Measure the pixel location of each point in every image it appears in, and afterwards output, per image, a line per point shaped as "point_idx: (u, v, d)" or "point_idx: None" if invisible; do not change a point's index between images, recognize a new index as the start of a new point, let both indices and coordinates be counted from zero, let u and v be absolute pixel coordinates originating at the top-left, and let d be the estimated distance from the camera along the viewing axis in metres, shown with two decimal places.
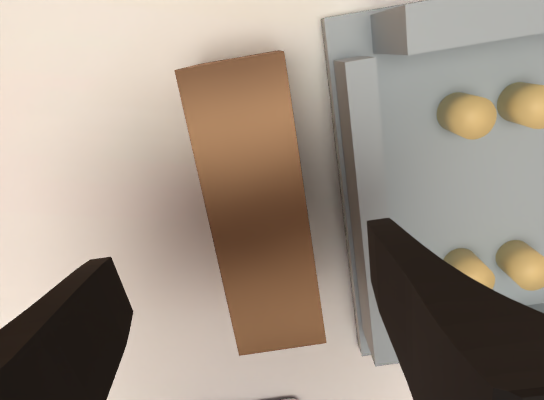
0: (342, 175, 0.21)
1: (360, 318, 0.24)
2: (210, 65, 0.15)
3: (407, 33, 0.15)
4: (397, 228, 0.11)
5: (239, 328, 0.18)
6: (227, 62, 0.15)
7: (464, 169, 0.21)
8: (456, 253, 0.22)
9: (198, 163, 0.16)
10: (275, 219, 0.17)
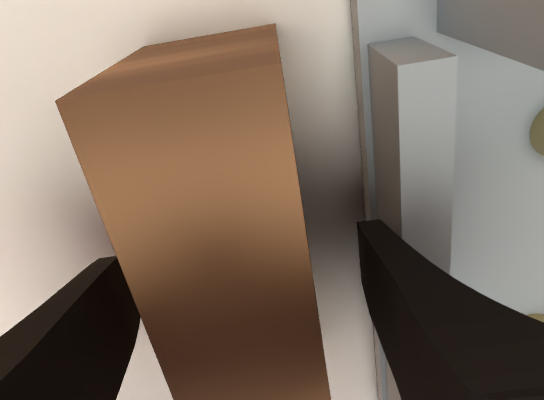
0: None
1: (385, 393, 0.18)
2: (128, 91, 0.07)
3: None
4: (387, 229, 0.11)
5: None
6: (163, 85, 0.07)
7: None
8: None
9: (124, 263, 0.09)
10: (266, 343, 0.10)
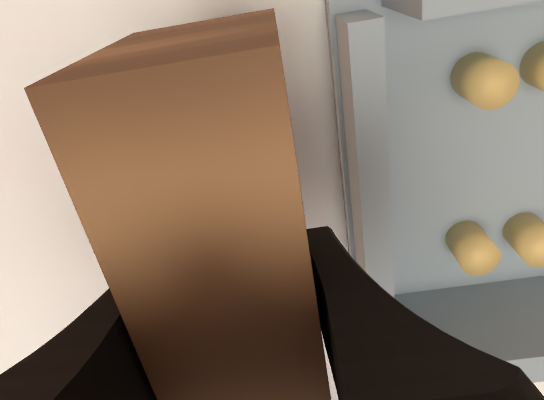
0: (342, 144, 0.19)
1: None
2: (106, 77, 0.06)
3: None
4: (330, 238, 0.11)
5: None
6: (146, 70, 0.06)
7: (477, 138, 0.19)
8: (461, 226, 0.21)
9: (106, 269, 0.08)
10: (263, 355, 0.09)
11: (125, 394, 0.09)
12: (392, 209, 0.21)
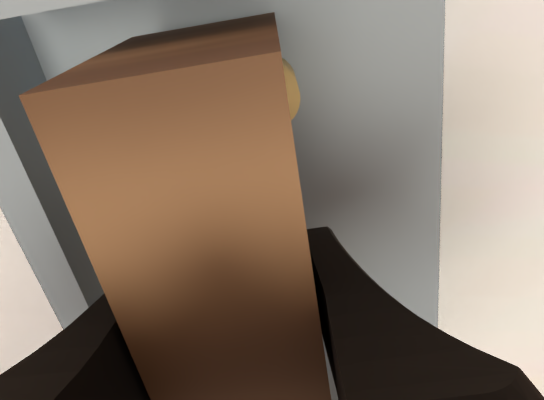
0: None
1: None
2: (103, 84, 0.06)
3: None
4: (330, 238, 0.11)
5: None
6: (144, 77, 0.06)
7: None
8: None
9: (103, 279, 0.08)
10: (263, 365, 0.09)
11: (125, 394, 0.09)
12: None
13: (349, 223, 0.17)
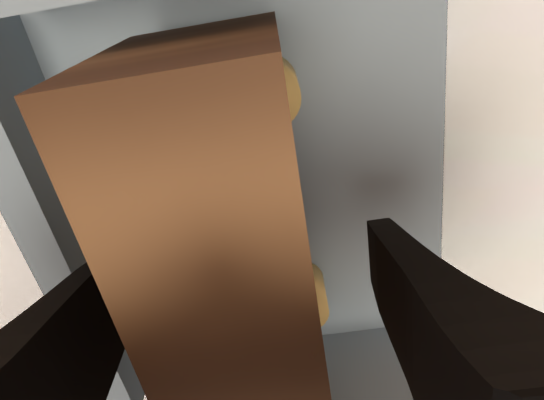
0: None
1: None
2: (100, 85, 0.06)
3: None
4: (397, 228, 0.11)
5: None
6: (141, 77, 0.06)
7: None
8: None
9: (101, 283, 0.08)
10: (263, 370, 0.09)
11: None
12: None
13: (350, 224, 0.17)
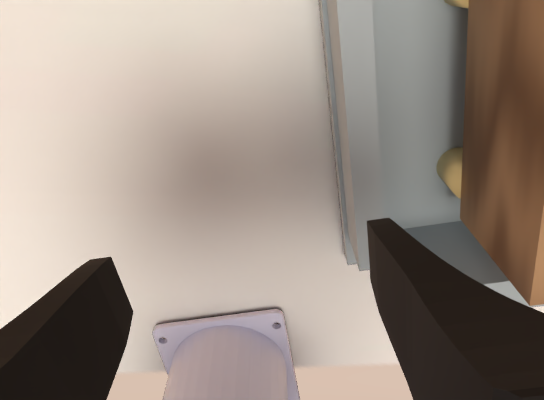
0: (328, 61, 0.19)
1: (346, 225, 0.23)
2: None
3: None
4: (397, 228, 0.11)
5: (542, 272, 0.14)
6: None
7: None
8: (452, 152, 0.20)
9: None
10: None
11: None
12: (381, 134, 0.20)
13: None
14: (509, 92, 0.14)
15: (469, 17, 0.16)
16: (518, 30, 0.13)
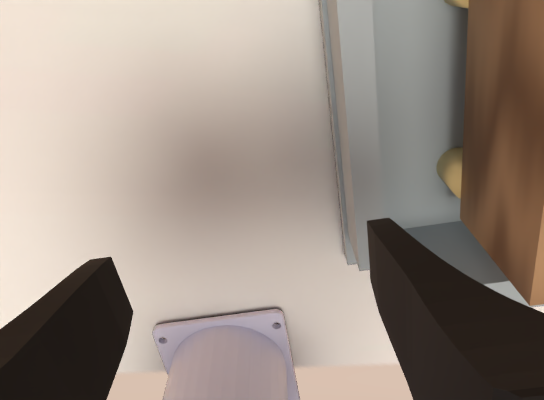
0: (328, 61, 0.19)
1: (346, 225, 0.23)
2: None
3: None
4: (397, 228, 0.11)
5: (542, 272, 0.14)
6: None
7: None
8: (452, 152, 0.20)
9: None
10: None
11: None
12: (381, 134, 0.20)
13: None
14: (509, 92, 0.14)
15: (469, 17, 0.16)
16: (518, 30, 0.13)
